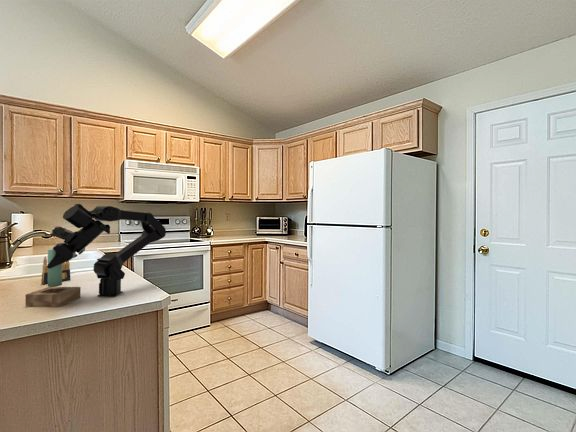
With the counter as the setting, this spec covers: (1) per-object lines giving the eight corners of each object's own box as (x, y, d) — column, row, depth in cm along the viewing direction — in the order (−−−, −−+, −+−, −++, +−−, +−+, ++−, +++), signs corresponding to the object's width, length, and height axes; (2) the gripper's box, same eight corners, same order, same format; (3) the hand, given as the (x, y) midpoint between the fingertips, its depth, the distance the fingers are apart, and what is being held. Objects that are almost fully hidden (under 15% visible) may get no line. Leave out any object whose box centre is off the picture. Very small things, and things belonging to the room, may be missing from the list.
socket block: (80, 297, 115) (80, 286, 115) (59, 306, 104) (59, 294, 104) (49, 297, 115) (49, 286, 115) (25, 306, 104) (25, 294, 104)
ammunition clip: (43, 284, 134) (43, 256, 133) (41, 284, 134) (41, 256, 134) (70, 280, 143) (70, 254, 143) (68, 279, 144) (68, 253, 144)
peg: (64, 284, 111) (64, 249, 111) (56, 286, 107) (56, 250, 107) (53, 284, 111) (53, 248, 111) (44, 286, 107) (44, 250, 107)
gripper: (75, 217, 119) (39, 247, 115) (60, 219, 102) (18, 254, 98) (99, 238, 122) (65, 267, 118) (88, 243, 105) (48, 278, 101)
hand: (50, 266), depth 109 cm, fingers closed on peg, 4 cm apart
